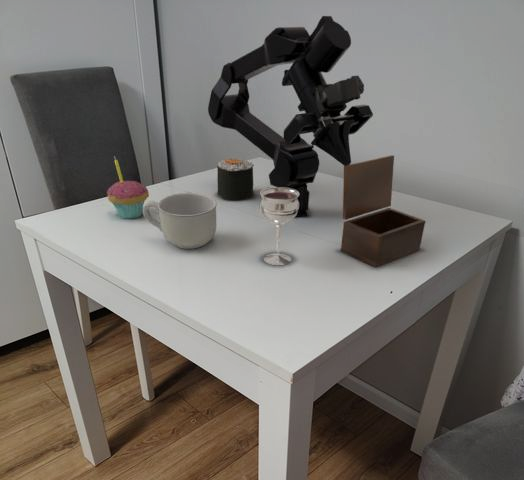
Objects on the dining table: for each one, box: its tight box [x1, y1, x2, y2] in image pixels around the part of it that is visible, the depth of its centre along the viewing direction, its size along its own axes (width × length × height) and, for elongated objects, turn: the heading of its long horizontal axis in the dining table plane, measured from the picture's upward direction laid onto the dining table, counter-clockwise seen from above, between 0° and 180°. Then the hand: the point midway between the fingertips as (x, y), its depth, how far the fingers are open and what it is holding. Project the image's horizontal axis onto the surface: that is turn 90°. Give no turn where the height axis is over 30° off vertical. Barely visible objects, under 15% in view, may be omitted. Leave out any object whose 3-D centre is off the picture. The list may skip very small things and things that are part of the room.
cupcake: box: [106, 155, 150, 219], centre depth 103 cm, size 9×8×12 cm
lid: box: [342, 154, 395, 221], centre depth 89 cm, size 9×13×1 cm
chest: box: [340, 207, 426, 268], centre depth 91 cm, size 9×13×6 cm
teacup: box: [142, 192, 217, 250], centre depth 92 cm, size 14×11×8 cm
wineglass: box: [259, 186, 300, 266], centre depth 85 cm, size 7×7×12 cm
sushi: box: [217, 157, 255, 202], centre depth 116 cm, size 8×8×8 cm
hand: (348, 164), depth 91 cm, fingers closed
